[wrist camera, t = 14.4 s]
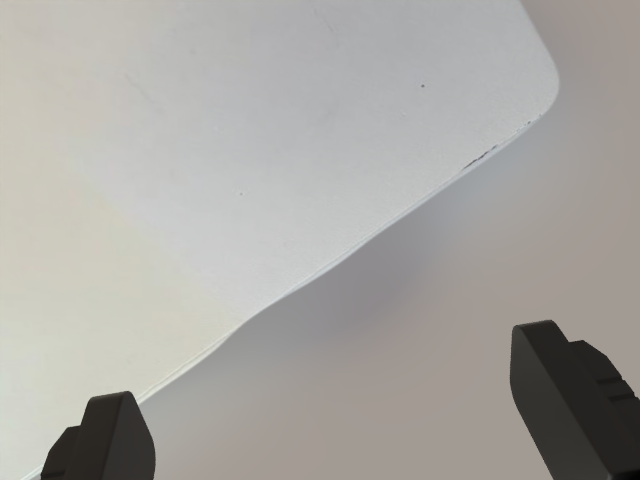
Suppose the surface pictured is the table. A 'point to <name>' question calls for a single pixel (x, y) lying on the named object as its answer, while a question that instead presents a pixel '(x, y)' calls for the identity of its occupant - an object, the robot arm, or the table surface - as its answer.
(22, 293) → the table surface
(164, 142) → the table surface
